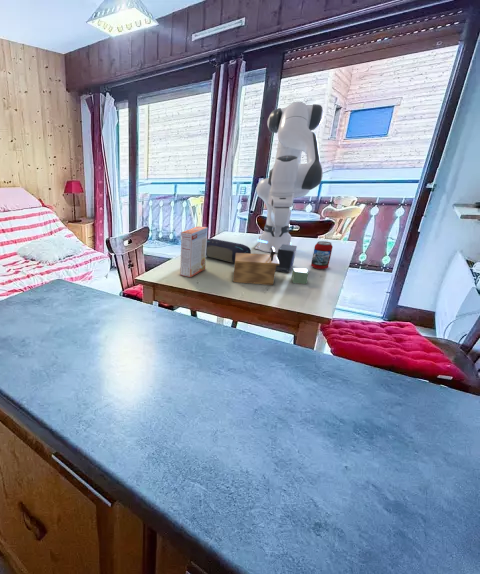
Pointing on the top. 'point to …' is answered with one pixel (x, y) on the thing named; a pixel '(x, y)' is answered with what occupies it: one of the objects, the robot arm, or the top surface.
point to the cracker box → (193, 251)
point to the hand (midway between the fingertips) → (275, 233)
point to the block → (299, 275)
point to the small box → (285, 257)
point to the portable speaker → (224, 249)
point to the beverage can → (321, 255)
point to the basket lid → (258, 258)
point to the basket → (254, 273)
